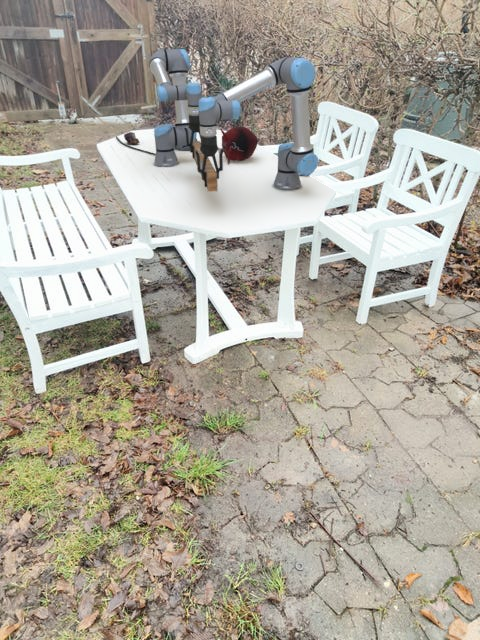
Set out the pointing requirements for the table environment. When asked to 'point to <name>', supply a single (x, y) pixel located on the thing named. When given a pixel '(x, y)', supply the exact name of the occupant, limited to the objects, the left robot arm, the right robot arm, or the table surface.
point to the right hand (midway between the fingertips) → (210, 185)
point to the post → (206, 168)
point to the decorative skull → (238, 143)
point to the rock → (131, 138)
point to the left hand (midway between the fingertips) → (197, 157)
